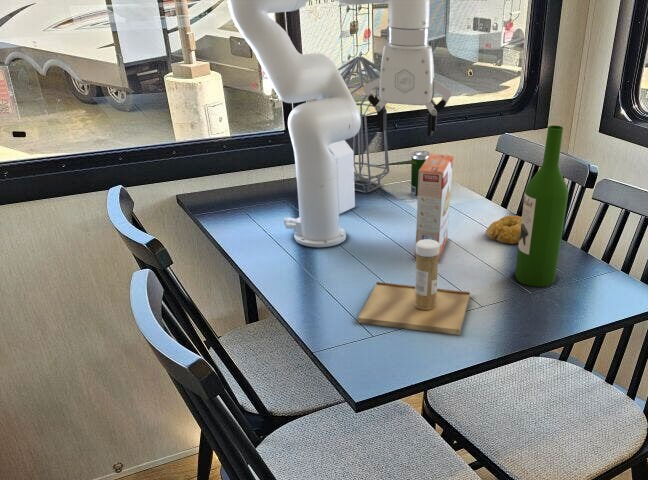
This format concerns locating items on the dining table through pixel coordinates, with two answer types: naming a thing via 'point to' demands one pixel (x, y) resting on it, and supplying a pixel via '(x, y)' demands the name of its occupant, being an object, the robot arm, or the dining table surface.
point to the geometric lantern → (349, 74)
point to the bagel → (505, 229)
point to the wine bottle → (543, 218)
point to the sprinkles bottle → (426, 274)
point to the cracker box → (434, 199)
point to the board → (414, 309)
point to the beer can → (417, 169)
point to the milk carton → (344, 174)
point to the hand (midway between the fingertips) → (406, 132)
